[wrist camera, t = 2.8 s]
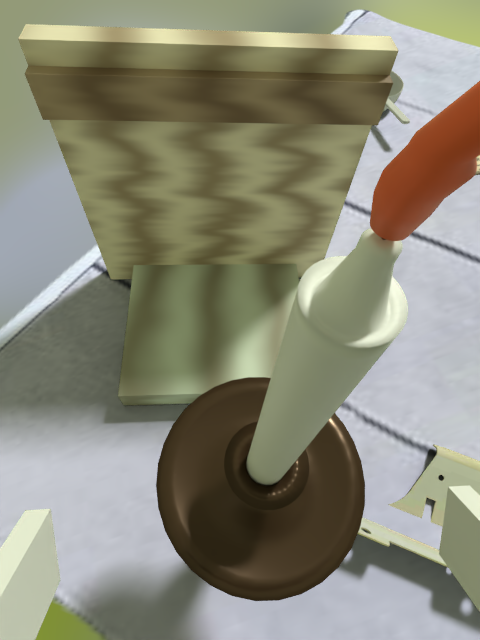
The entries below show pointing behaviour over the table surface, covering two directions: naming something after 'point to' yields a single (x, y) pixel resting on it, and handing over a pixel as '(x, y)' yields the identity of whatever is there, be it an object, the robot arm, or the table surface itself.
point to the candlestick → (306, 399)
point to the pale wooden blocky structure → (207, 179)
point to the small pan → (395, 98)
